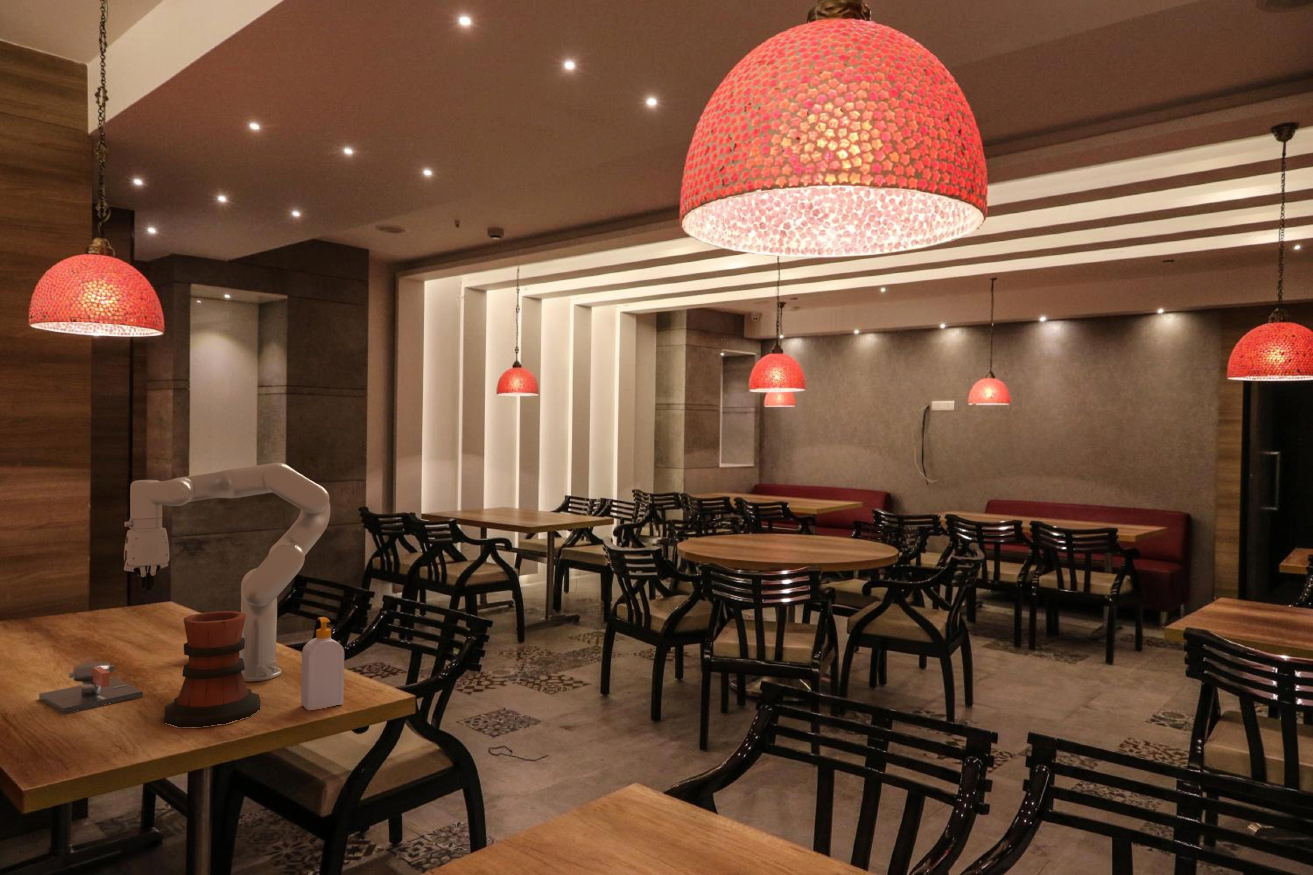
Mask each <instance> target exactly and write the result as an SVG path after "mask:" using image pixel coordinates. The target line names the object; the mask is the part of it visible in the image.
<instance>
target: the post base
mask: <svg viewBox="0 0 1313 875" xmlns="http://www.w3.org/2000/svg"><path fill="white" fill-rule="evenodd" d="M38 695H39V696H38V700H39V701H41V702H43V703H44V704H46V705H47V706H49V707H50V708H52V709H54V710H55V711H57V712H59V713H60V714H62V715H65V713H67V714H70V713H75V712H74V711H76V712H78V711H77V710H81V711H84V710H89V708H90V709H93V708H92V707H94V708H97V707H96V706H99V707H102V706H101V705H103V706H105V705H104V704H108V705H110V704H109V703H113V704H115V703H114V702H117V703H120V702H119V701H122V702H124V701H123V700H126V701H130V700H129V699H131V700H134V699H135V698H136V699H139V697H140V698H143V697H144V696H143V695H144V691H143V690H141V689H138V688H137V687H135V686H133V685H131V684H128V683H127V682H125V681H123V680H120V679H118V678H112V679H109V686H107V687H101V686H99V685H98V684H96V683H95V682H94V681H86V682H81V684H80V685H77V686H71V687H67V688H62V689H57V690H51V691H46V692H41V693H39V694H38ZM136 699H135V700H136Z"/></svg>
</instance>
